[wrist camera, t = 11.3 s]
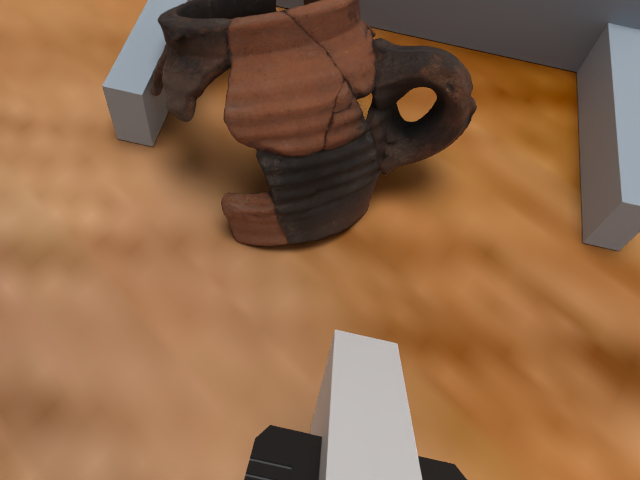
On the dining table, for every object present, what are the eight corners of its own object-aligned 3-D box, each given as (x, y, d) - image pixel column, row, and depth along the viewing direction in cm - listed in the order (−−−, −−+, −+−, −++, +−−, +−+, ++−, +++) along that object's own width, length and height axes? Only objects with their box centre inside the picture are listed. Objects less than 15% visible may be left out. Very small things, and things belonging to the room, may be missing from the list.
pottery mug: (155, 264, 23) (86, 41, 18) (220, 158, 31) (182, -15, 26) (484, 255, 21) (493, 3, 17) (462, 145, 29) (464, -45, 24)
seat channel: (618, 250, 25) (697, 178, 20) (117, 138, 25) (90, 43, 20) (605, 58, 30) (664, -30, 26) (199, -32, 31) (192, -133, 26)
